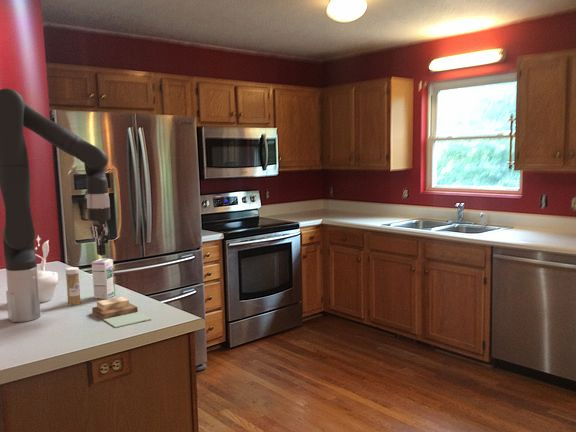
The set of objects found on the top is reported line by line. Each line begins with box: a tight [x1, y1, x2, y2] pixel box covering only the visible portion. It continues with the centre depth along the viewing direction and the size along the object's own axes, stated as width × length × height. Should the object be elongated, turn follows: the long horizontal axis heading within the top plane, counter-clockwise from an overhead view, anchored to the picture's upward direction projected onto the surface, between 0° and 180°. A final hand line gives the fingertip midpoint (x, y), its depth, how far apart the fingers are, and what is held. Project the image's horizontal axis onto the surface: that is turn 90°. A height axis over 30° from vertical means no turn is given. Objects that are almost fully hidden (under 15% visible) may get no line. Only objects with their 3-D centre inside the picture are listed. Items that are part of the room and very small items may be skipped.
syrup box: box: [91, 258, 116, 300], centre depth 202 cm, size 6×6×14 cm
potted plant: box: [35, 234, 59, 303], centre depth 197 cm, size 13×12×25 cm
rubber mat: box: [103, 311, 152, 329], centre depth 174 cm, size 12×10×1 cm
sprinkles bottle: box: [65, 266, 82, 306], centre depth 193 cm, size 5×5×14 cm
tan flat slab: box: [91, 302, 139, 321], centre depth 182 cm, size 12×10×2 cm
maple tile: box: [96, 296, 130, 311], centre depth 183 cm, size 9×6×2 cm, turn 130°
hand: (101, 254), depth 188 cm, fingers closed
